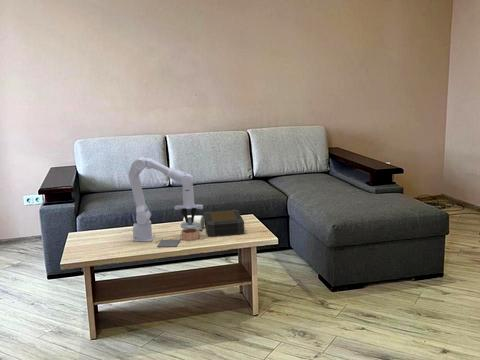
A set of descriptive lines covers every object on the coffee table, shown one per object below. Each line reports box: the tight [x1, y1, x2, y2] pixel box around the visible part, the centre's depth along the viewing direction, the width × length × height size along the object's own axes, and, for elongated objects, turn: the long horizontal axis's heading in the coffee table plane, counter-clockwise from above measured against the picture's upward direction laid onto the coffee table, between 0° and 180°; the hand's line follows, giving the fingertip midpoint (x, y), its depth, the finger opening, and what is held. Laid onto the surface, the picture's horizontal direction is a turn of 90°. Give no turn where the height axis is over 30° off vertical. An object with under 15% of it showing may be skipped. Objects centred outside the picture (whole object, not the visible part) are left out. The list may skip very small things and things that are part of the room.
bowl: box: [180, 228, 200, 242], centre depth 265 cm, size 9×9×4 cm
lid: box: [180, 217, 200, 229], centre depth 264 cm, size 10×10×4 cm
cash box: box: [203, 209, 245, 238], centre depth 278 cm, size 25×20×8 cm
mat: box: [156, 238, 181, 248], centre depth 257 cm, size 10×10×1 cm
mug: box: [182, 214, 205, 231], centre depth 281 cm, size 12×10×8 cm
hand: (189, 222), depth 263 cm, fingers closed on lid, 2 cm apart
